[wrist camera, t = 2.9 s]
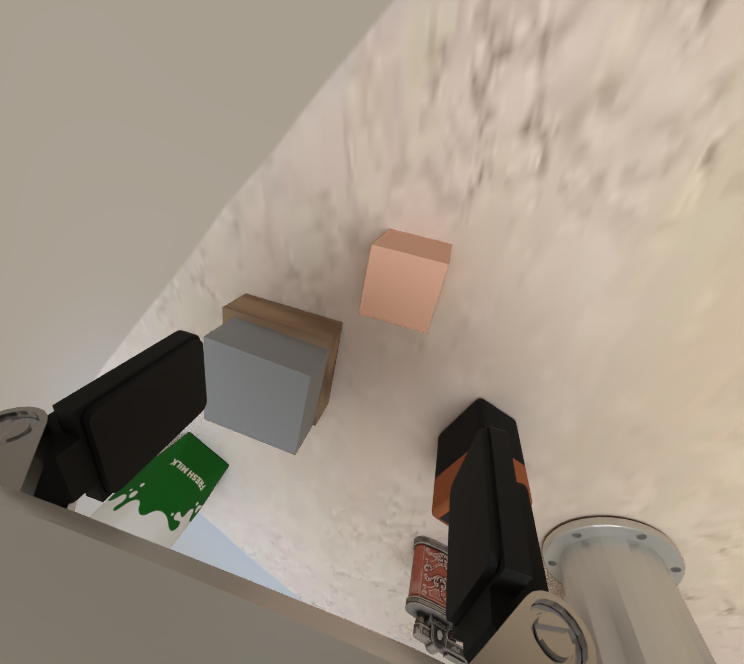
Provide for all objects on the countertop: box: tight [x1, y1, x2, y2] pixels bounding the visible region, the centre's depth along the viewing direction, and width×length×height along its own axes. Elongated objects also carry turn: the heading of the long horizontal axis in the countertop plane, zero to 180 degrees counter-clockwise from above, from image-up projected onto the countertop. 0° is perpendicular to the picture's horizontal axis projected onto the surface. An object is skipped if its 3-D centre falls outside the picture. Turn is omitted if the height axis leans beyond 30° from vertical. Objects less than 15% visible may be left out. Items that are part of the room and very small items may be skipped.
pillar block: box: [358, 229, 452, 333], centre depth 25 cm, size 5×5×6 cm
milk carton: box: [89, 432, 229, 549], centre depth 38 cm, size 9×9×20 cm
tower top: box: [204, 317, 329, 455], centre depth 29 cm, size 9×9×4 cm
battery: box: [432, 399, 532, 526], centre depth 28 cm, size 4×7×10 cm, turn 149°
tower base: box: [223, 294, 343, 425], centre depth 33 cm, size 10×10×4 cm
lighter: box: [405, 536, 467, 664], centre depth 38 cm, size 8×3×10 cm, turn 62°
